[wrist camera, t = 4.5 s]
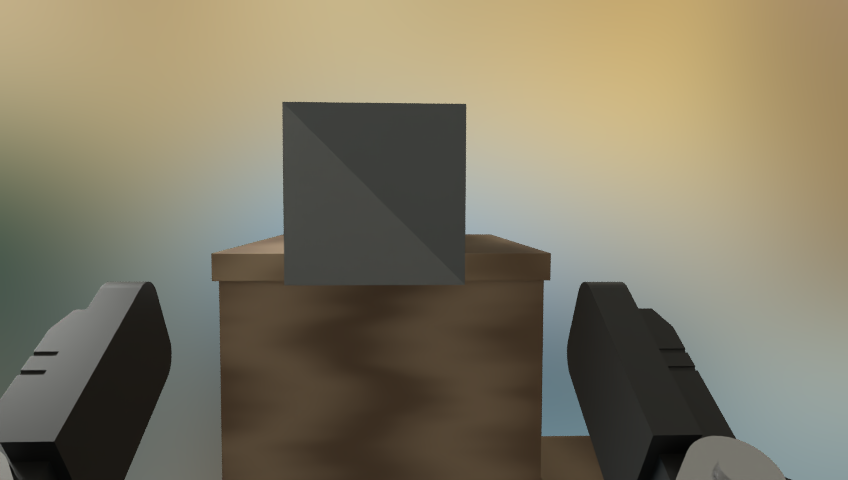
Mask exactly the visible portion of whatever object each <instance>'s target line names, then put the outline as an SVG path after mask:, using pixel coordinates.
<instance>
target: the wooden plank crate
mask: <svg viewBox="0 0 848 480" xmlns="http://www.w3.org/2000/svg"><path fill="white" fill-rule="evenodd" d="M211 255H212V281H219V299H220V300H219V302H220V361H221V362H220V364H221V423H222V424H221V425H222V426H221V427H222V480H604V479H603V475H602V472H601V469H600V466H599V463H598V460H597V457H596V454H595V451H594V448H593V444H592V441H591V438H590V436H544V437H543V436H541V424H542V355H543V354H542V353H543V287H544V280H550V263H551V261H550V260H551V254H550V253H547V252H544V251H541V250H538V249H535V248H532V247H528V246H525V245H522V244H519V243H516V242H512V241H509V240H506V239H503V238H500V237H497V236H493V235H470V234H468V235H466V234H465V285H284V234H283V235H280V236H276V237H272V238H269V239H265V240H261V241H257V242H253V243H250V244H246V245H242V246H238V247H234V248H231V249H227V250H223V251H219V252H216V253H212V254H211Z"/></svg>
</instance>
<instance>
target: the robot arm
mask: <svg viewBox="0 0 848 480" xmlns="http://www.w3.org/2000/svg"><path fill="white" fill-rule="evenodd" d="M567 359H568V368H569V373H570V376H571V379H572V382H573V385H574V389H575V392H576V394H577V398H578V401H579V404H580V407H581V410H582V413H583V416H584V420H585V423H586V426H587V429H588V432H589V435H590V438H591V441H592V444H593V448H594V451H595V454H596V457H597V460H598V463H599V466H600V469H601V472H602V475H603V479H604V480H791V479H788V478H785V477H784V475H783V474H782V472H781V471H780V469H779V468H778V467H777V465H776V464H775V463H774V462H773V461H772V460H771V459H770V458H769V457H767V456H766V455H765V454H764V453H762V452H761V451H759V450H758V449H756V448H755V447H753V446H751V445H749V444H747V443H745V442H742V441H740V440H737V439H736V438H735V436H734V435H733V433H732V431H731V429H730V428H729V426H728V424H727V422H726V420H725V418H724V417H723V415H722V413H721V411H720V410H719V408H718V406H717V404H716V402H715V401H714V399H713V397H712V395H711V394H710V392H709V390H708V388H707V386H706V385H705V383H704V381H703V379H702V378H701V376H700V374H699V372H698V371H695V365H694V363H693V362H692V360H691V358H690V356H689V355H688V353H685V347H684V346H683V344H682V342H681V340H680V339H679V337H678V335H677V333H676V331H675V330H674V328H673V327H672V326H671V325H670V324H669V323H668V322H667V321H666V320H664V319H663V318H662V317H661V316H660V315H659V314H657V313H656V312H655V311H654V310H653V309H638V307H637V305H636V303H635V302H634V299H633V298H632V295H631V293H630V292H629V290H628V288H627V286H626V285H625V284H624V283H623V282H583V283H582V284H581V286H580V288H579V292H578V297H577V301H576V306H575V311H574V315H573V321H572V325H571V329H570V334H569V339H568V345H567ZM170 366H171V343H170V339H169V336H168V332H167V328H166V325H165V321H164V317H163V314H162V310H161V306H160V303H159V299H158V296H157V292H156V289H155V287H154V285H153V284H152V283H151V282H106V283H104V284H103V286H102V287H101V288H100V289H99V291H98V293H97V294H96V296H95V297H94V299H93V300H92V302H91V303H90V305H89V306H88V308H87V309H86V310H74V311H73V312H71V313H70V314H69V315H67V316H66V317H65V318H63V319H62V320H61V321H59V322H58V323H57V324H55V325H54V326H53V327H52V328H50V329H49V331H48V332H47V333H46V335H45V336H44V338H43V339H42V340H41V342H40V343H39V345H38V346H37V348H36V349H35V350H34V356H30V358H29V359H28V360H27V362H26V363H25V365H24V366H23V367H22V369H21V374H20V375H17V376H16V377H15V379H14V380H13V382H12V383H11V385H10V386H9V388H8V389H7V390H6V392H5V393H4V395H3V396H2V398H1V399H0V480H124V479H125V477H126V474H127V472H128V470H129V467H130V465H131V462H132V460H133V458H134V455H135V453H136V451H137V448H138V446H139V444H140V441H141V439H142V436H143V434H144V432H145V429H146V427H147V425H148V422H149V420H150V418H151V415H152V413H153V410H154V408H155V406H156V403H157V401H158V399H159V396H160V394H161V391H162V389H163V387H164V384H165V382H166V379H167V377H168V374H169V371H170Z"/></svg>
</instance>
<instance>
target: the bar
mask: <svg viewBox="0 0 848 480" xmlns="http://www.w3.org/2000/svg"><path fill="white" fill-rule="evenodd" d="M465 187H466V104H419V103H416V104H415V103H414V104H413V103H412V104H411V103H408V104H407V103H326V102H324V103H323V102H283V203H284V285H465V196H466V195H465V194H466V193H465V192H466V188H465Z"/></svg>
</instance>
